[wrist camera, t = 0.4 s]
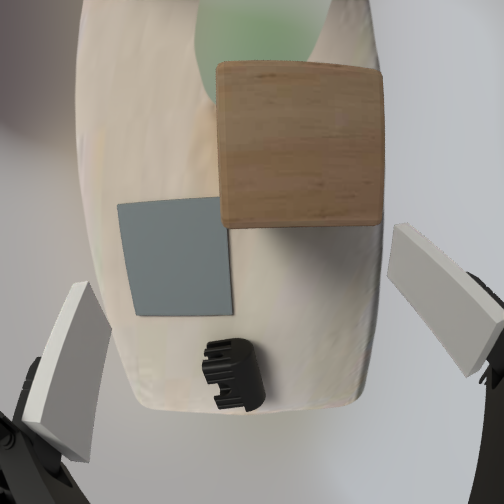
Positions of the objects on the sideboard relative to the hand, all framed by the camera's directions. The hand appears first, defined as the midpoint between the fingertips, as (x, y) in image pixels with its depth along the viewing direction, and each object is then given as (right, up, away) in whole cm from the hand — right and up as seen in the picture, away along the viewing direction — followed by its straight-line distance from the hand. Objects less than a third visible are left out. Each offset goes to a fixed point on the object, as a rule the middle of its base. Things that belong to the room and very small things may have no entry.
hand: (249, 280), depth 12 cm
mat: (-10, 0, +27) cm, 29 cm away
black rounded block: (-2, -16, +33) cm, 37 cm away
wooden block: (+3, +14, +23) cm, 27 cm away
